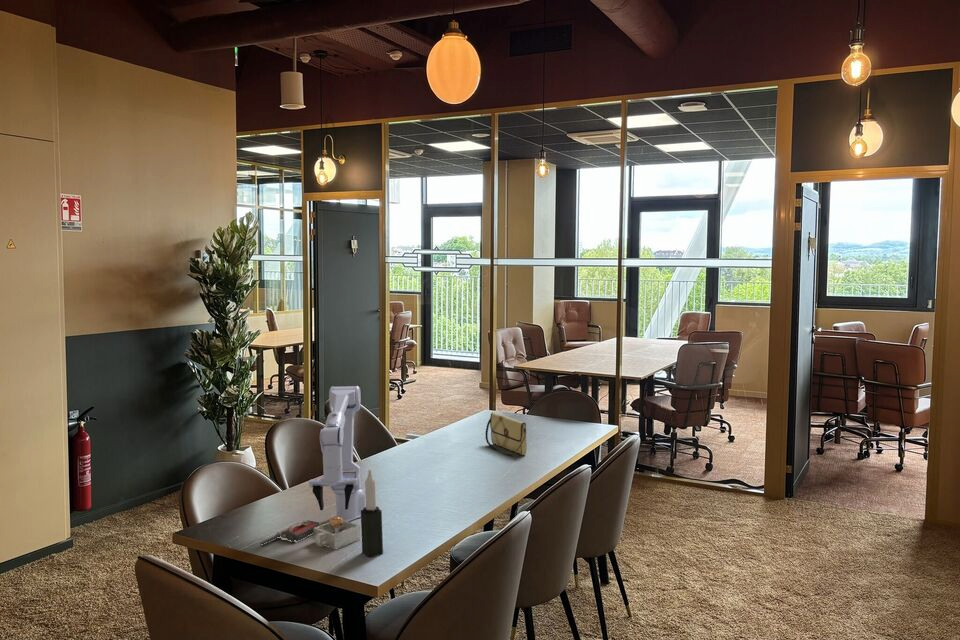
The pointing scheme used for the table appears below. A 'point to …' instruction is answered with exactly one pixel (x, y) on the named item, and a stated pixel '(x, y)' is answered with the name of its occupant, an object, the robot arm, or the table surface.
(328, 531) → the square tray with tab
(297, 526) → the walkie-talkie
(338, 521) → the square lid with knob
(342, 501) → the robot arm
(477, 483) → the table surface
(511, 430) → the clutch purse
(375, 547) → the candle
